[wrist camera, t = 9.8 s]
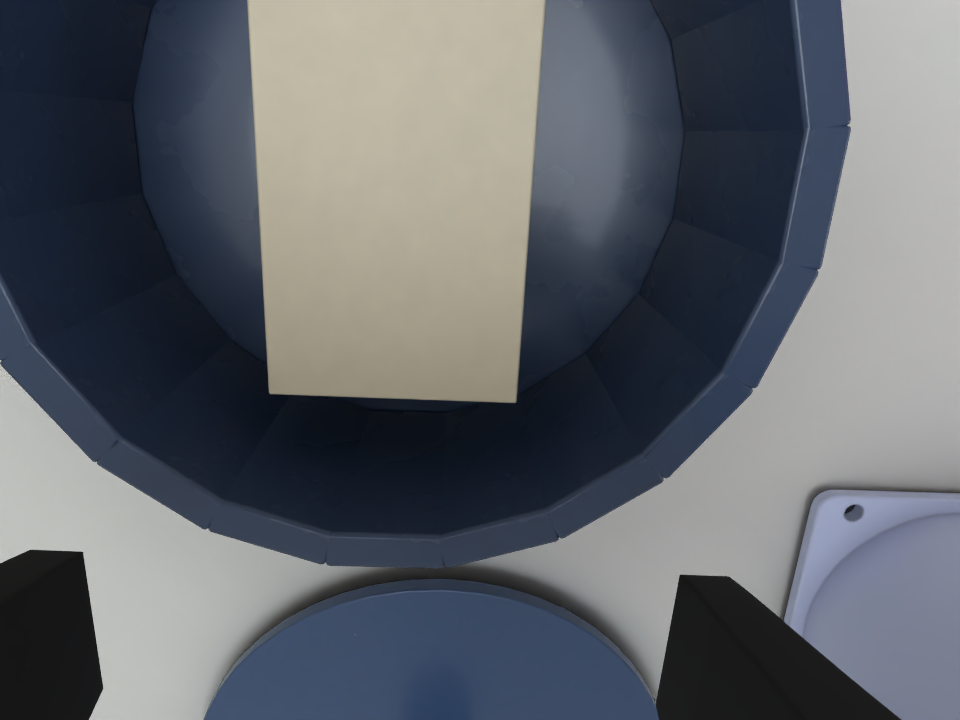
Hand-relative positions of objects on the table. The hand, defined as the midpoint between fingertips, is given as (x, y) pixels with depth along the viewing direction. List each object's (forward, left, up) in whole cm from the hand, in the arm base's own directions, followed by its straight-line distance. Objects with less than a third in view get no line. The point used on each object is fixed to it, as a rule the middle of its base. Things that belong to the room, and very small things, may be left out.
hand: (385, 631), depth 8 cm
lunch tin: (0, -5, -9) cm, 11 cm away
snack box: (0, -5, -9) cm, 10 cm away
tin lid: (-1, +13, -9) cm, 16 cm away
